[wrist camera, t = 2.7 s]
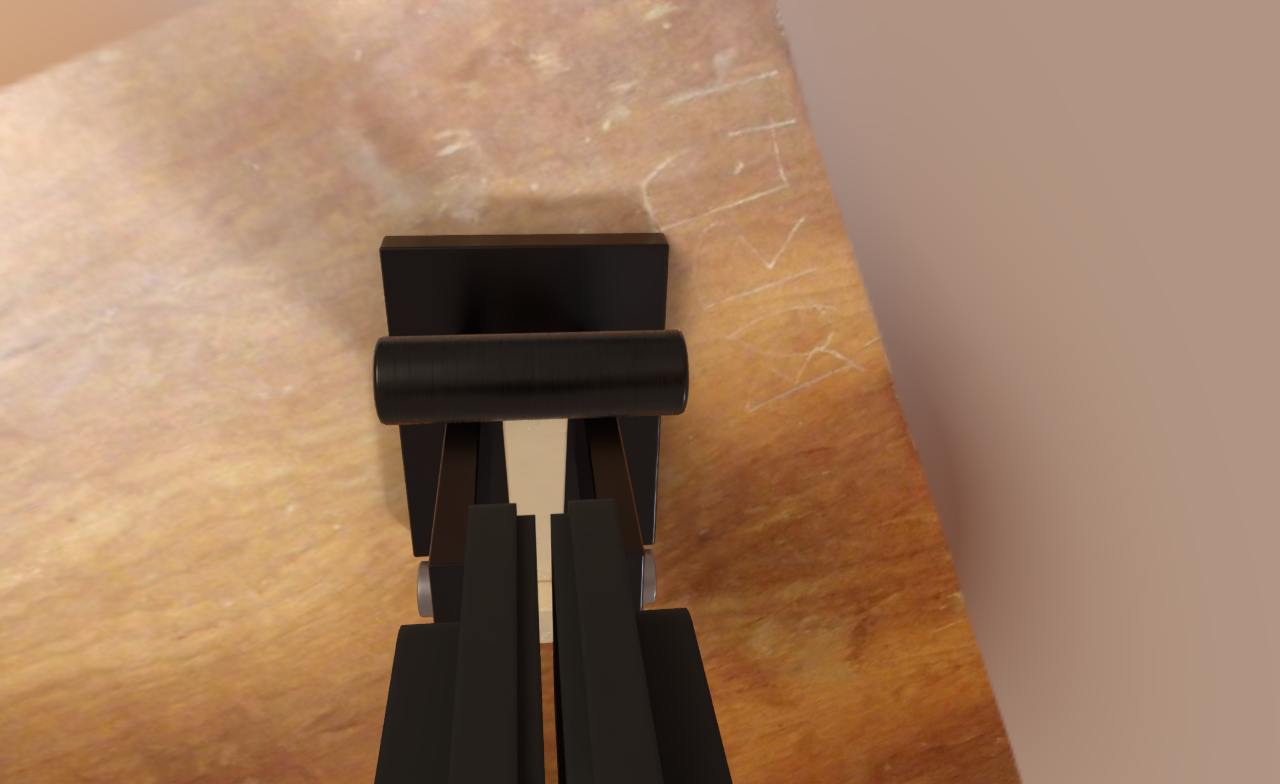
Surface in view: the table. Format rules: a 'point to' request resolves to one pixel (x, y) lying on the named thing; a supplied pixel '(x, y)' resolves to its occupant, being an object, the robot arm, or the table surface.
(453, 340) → the lever handle
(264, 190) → the table surface
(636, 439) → the lever stand
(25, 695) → the table surface
